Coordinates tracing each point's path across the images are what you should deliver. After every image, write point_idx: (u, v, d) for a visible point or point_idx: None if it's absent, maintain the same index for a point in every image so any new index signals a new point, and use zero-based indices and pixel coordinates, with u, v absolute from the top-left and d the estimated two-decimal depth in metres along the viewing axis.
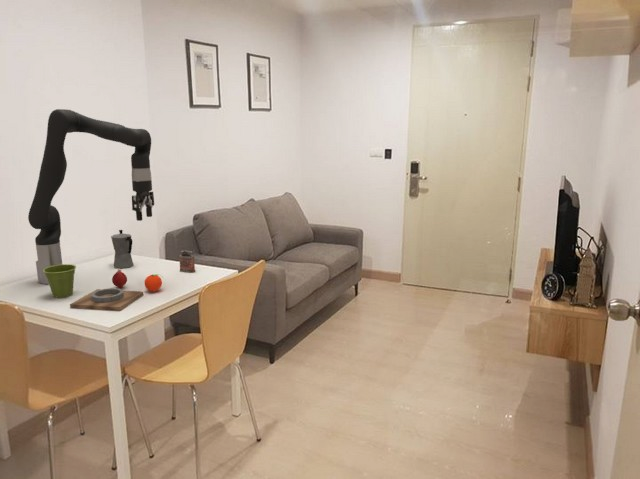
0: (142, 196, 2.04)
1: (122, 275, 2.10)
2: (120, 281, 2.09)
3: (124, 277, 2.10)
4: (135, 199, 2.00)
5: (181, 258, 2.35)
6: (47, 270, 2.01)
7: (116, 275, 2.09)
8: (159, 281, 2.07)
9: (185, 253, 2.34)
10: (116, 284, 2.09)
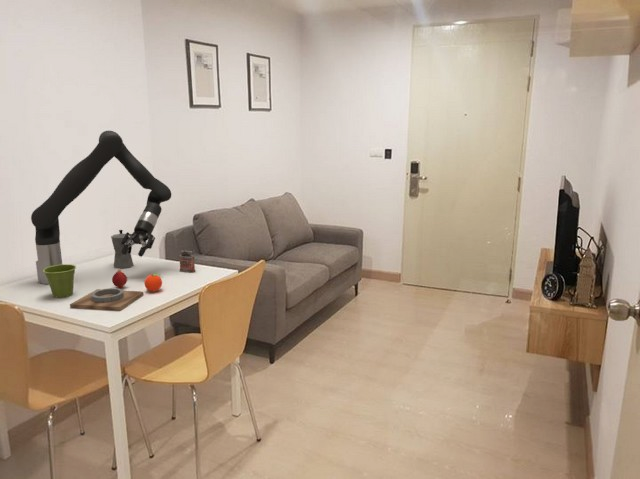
0: None
1: (122, 275, 2.10)
2: (120, 281, 2.09)
3: (124, 277, 2.10)
4: (153, 239, 2.20)
5: (181, 258, 2.35)
6: (47, 270, 2.01)
7: (116, 275, 2.09)
8: (159, 281, 2.07)
9: (185, 253, 2.34)
10: (116, 284, 2.09)
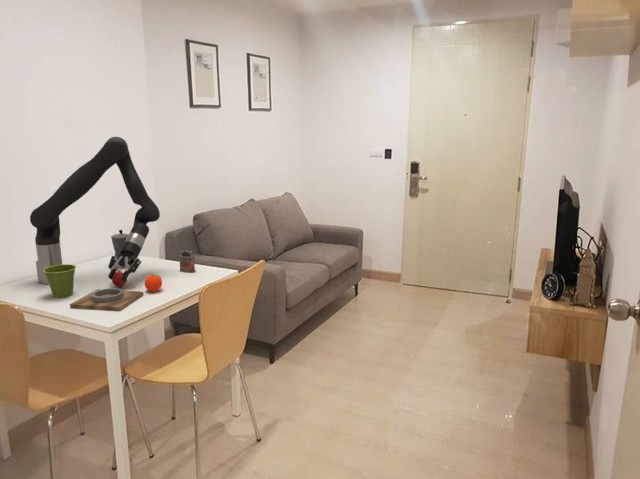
0: None
1: None
2: (120, 281, 2.09)
3: None
4: (138, 263, 2.12)
5: (181, 258, 2.35)
6: (47, 270, 2.01)
7: (116, 275, 2.09)
8: (159, 281, 2.07)
9: (185, 253, 2.34)
10: (116, 284, 2.09)
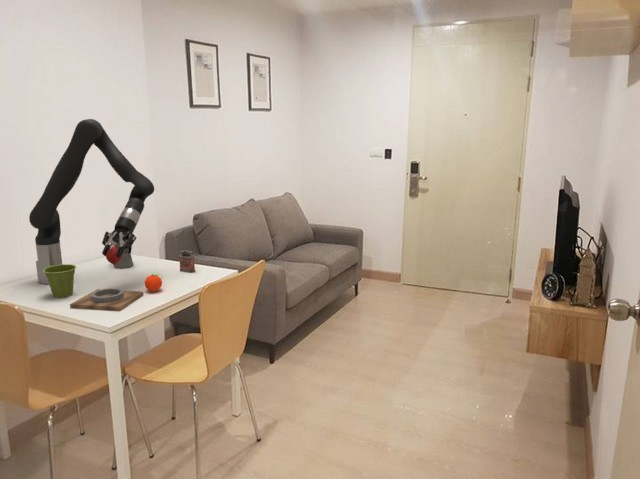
0: None
1: None
2: (115, 258, 2.01)
3: None
4: (134, 239, 2.04)
5: (181, 258, 2.35)
6: (47, 270, 2.01)
7: (110, 251, 2.01)
8: (159, 281, 2.07)
9: (185, 253, 2.34)
10: (110, 260, 2.01)
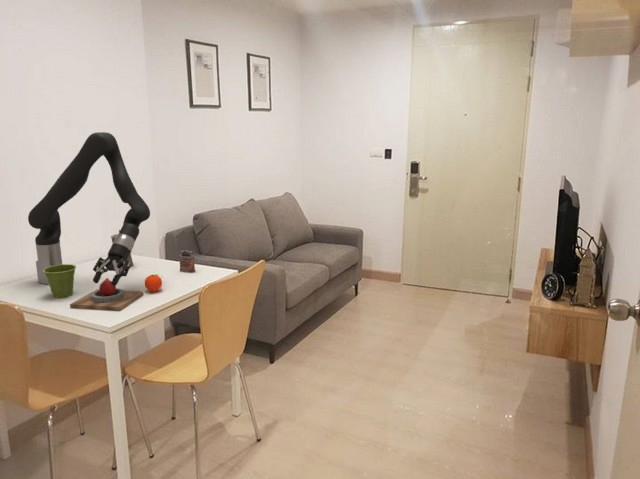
0: None
1: (110, 284, 1.93)
2: (109, 291, 1.93)
3: (112, 286, 1.94)
4: (129, 265, 1.96)
5: (181, 258, 2.35)
6: (47, 270, 2.01)
7: (104, 284, 1.93)
8: (159, 281, 2.07)
9: (185, 253, 2.34)
10: (104, 294, 1.93)
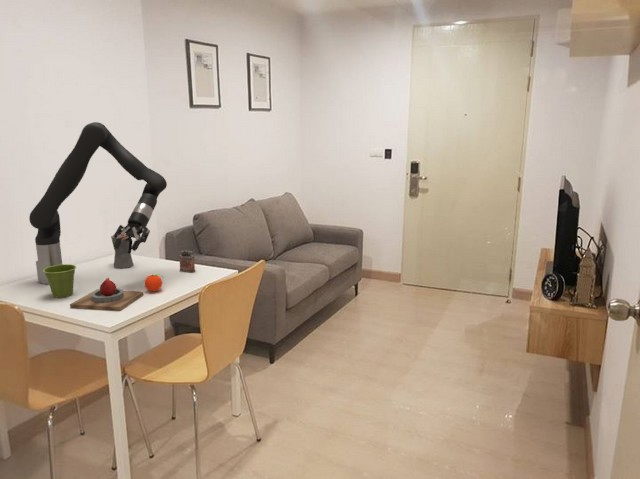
0: None
1: (111, 284, 1.94)
2: (109, 291, 1.93)
3: (113, 286, 1.94)
4: (148, 232, 2.06)
5: (181, 258, 2.35)
6: (47, 270, 2.01)
7: (104, 284, 1.93)
8: (159, 281, 2.07)
9: (185, 253, 2.34)
10: (104, 293, 1.93)
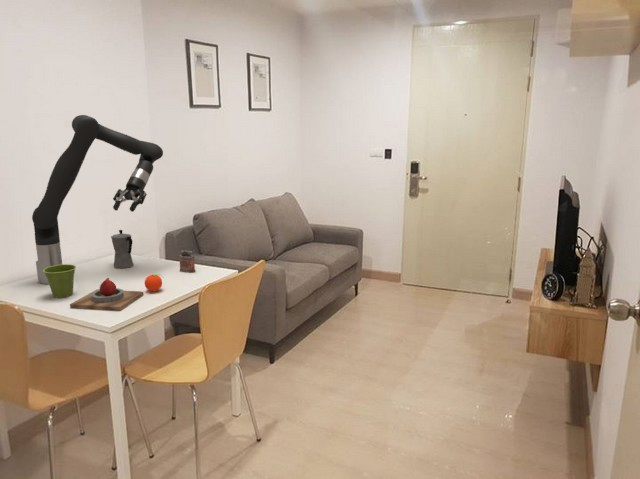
0: None
1: (111, 284, 1.94)
2: (109, 291, 1.93)
3: (113, 286, 1.94)
4: (144, 195, 2.23)
5: (181, 258, 2.35)
6: (47, 270, 2.01)
7: (104, 284, 1.93)
8: (159, 281, 2.07)
9: (185, 253, 2.34)
10: (104, 293, 1.93)
